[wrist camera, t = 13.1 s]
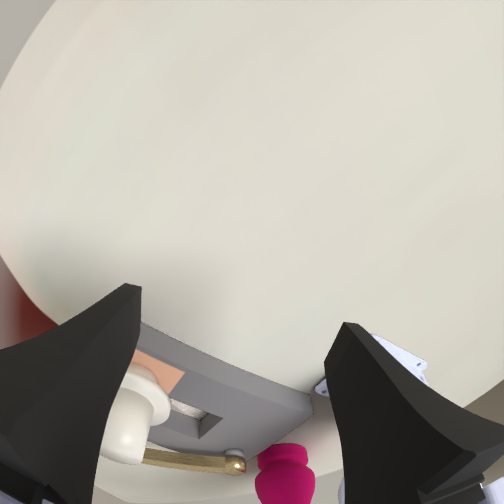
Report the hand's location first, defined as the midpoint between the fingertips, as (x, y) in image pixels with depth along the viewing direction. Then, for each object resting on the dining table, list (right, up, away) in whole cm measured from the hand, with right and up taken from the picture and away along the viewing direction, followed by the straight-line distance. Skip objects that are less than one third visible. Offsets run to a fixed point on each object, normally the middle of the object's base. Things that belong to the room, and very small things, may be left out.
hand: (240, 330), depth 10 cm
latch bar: (-9, -19, +16) cm, 26 cm away
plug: (-9, -8, +12) cm, 17 cm away
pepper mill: (+4, -23, +22) cm, 32 cm away
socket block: (-6, -12, +17) cm, 21 cm away
